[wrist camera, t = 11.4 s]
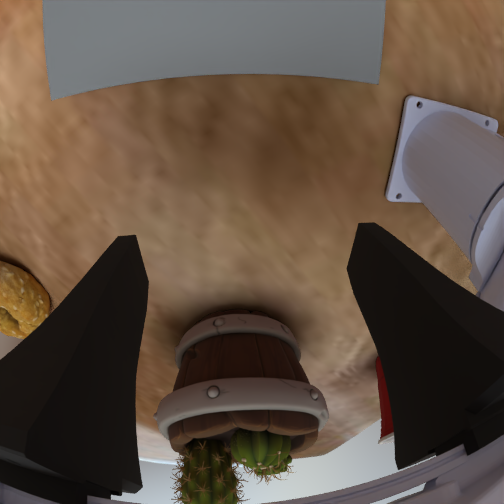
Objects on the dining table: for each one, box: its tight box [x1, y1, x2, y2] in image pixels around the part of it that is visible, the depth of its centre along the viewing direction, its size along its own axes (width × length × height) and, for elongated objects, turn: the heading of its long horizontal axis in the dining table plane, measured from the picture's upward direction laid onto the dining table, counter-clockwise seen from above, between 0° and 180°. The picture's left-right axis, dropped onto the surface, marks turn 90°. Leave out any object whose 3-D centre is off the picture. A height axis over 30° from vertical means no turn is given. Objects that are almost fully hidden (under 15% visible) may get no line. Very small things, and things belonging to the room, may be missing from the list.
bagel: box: [0, 261, 50, 339], centre depth 23 cm, size 10×11×5 cm
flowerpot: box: [153, 309, 329, 504], centre depth 23 cm, size 14×15×20 cm
